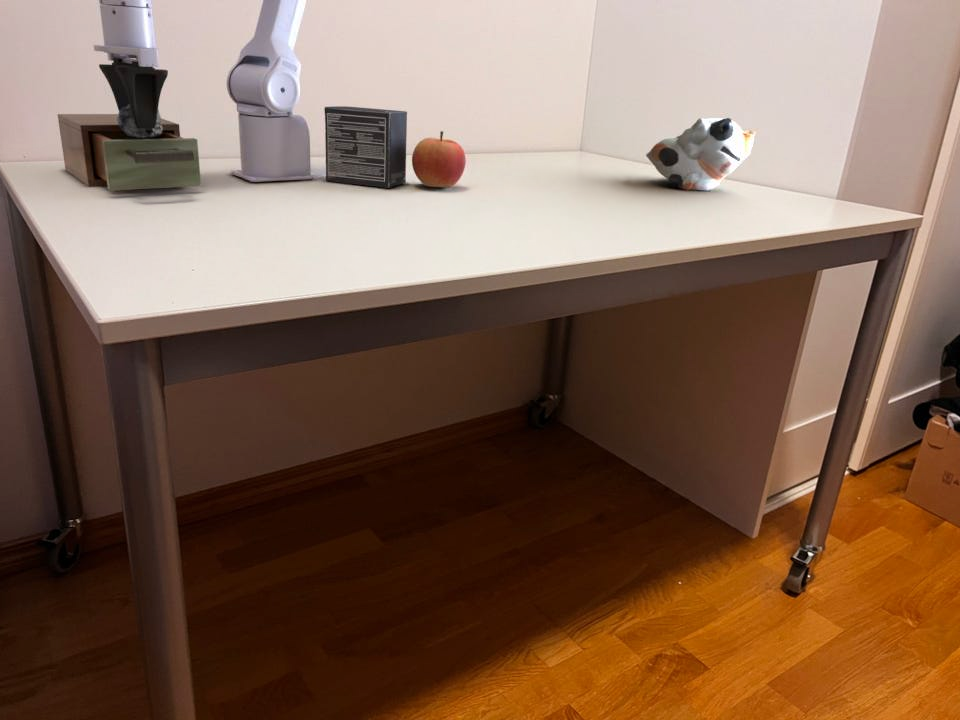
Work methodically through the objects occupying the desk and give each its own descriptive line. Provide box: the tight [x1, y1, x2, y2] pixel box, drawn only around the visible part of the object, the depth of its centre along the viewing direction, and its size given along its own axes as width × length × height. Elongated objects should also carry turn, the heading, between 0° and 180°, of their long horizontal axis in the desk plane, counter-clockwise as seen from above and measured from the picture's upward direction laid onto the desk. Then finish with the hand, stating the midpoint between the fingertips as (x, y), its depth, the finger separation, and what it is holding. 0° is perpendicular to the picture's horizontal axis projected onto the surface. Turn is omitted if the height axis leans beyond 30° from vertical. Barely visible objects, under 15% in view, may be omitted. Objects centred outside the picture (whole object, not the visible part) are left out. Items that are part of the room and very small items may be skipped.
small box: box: [323, 105, 408, 189], centre depth 111 cm, size 11×6×10 cm, turn 71°
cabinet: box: [57, 113, 181, 187], centre depth 105 cm, size 14×12×8 cm
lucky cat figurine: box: [645, 117, 756, 191], centre depth 126 cm, size 15×12×14 cm
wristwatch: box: [117, 104, 163, 138], centre depth 95 cm, size 3×5×5 cm
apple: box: [411, 130, 467, 188], centre depth 111 cm, size 8×8×8 cm
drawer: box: [88, 131, 202, 192], centre depth 96 cm, size 17×11×6 cm, turn 38°
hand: (138, 125), depth 96 cm, fingers closed on wristwatch, 5 cm apart
